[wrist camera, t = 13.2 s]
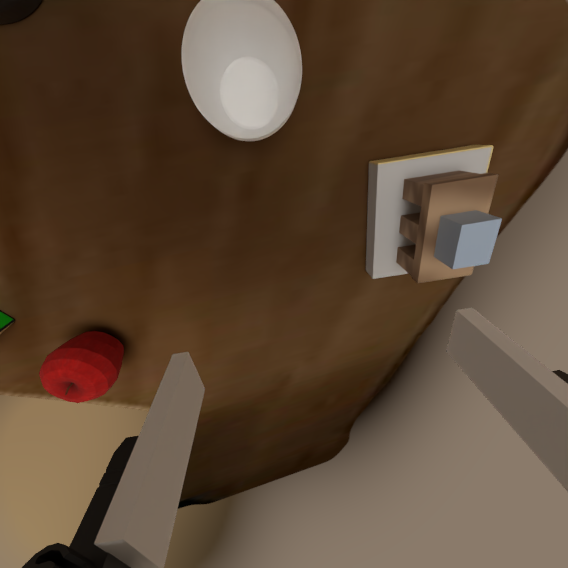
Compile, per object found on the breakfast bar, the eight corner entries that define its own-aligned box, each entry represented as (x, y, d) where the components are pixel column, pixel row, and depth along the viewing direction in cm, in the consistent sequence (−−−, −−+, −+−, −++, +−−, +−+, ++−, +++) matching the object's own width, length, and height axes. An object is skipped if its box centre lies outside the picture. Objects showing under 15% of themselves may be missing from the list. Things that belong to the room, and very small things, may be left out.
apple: (134, 323, 43) (99, 374, 34) (137, 363, 48) (106, 418, 38) (69, 314, 41) (13, 366, 32) (78, 357, 46) (30, 413, 36)
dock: (369, 161, 33) (378, 163, 31) (475, 144, 33) (493, 145, 31) (365, 270, 41) (372, 278, 39) (451, 256, 41) (464, 264, 39)
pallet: (404, 177, 32) (432, 184, 26) (459, 168, 32) (498, 174, 26) (396, 263, 38) (417, 283, 32) (442, 256, 38) (471, 274, 32)
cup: (234, 18, 26) (216, -64, 15) (305, 83, 29) (329, 52, 18) (195, 106, 29) (158, 88, 19) (262, 157, 32) (262, 165, 22)
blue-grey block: (440, 215, 28) (462, 225, 25) (476, 210, 28) (501, 218, 25) (433, 256, 31) (452, 269, 28) (466, 251, 31) (488, 263, 28)
